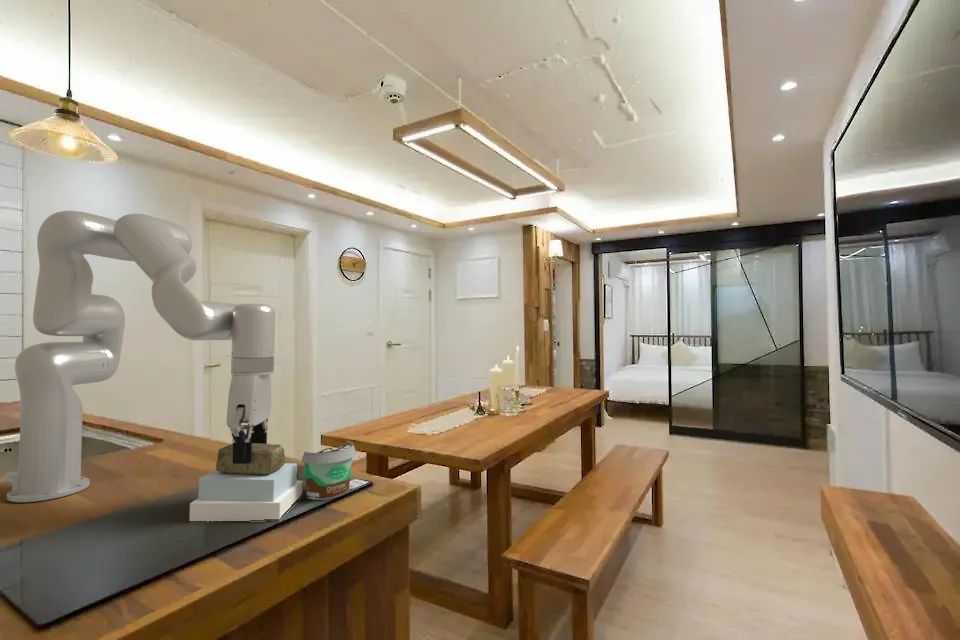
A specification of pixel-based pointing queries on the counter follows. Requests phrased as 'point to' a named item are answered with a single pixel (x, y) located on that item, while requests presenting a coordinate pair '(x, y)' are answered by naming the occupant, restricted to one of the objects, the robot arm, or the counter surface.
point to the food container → (328, 471)
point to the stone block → (263, 460)
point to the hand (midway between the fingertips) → (250, 456)
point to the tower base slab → (244, 508)
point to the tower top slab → (247, 485)
